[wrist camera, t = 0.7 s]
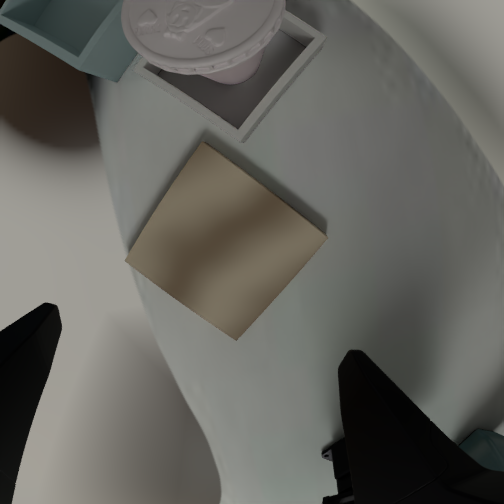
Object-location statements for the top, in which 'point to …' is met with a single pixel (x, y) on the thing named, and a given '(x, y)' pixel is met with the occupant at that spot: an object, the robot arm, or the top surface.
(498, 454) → the flower pot
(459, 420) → the top surface
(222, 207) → the oak board
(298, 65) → the grey tray
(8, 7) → the bin
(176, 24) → the smoothie
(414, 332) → the top surface
